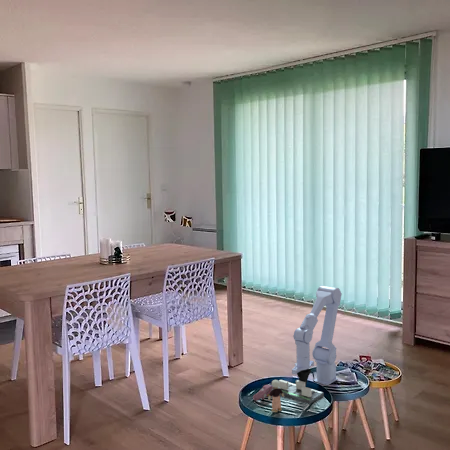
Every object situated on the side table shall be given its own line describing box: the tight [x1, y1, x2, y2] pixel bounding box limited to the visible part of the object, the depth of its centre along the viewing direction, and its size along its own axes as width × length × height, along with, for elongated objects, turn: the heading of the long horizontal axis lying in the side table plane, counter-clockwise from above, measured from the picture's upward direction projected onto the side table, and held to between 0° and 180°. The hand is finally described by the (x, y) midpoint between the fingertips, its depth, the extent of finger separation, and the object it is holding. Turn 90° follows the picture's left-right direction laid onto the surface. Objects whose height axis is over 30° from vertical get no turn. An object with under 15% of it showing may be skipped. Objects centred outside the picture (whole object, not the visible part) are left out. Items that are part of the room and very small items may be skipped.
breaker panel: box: [278, 381, 325, 405], centre depth 223 cm, size 11×19×2 cm, turn 48°
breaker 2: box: [302, 386, 313, 397], centre depth 217 cm, size 2×4×3 cm, turn 48°
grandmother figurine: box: [267, 379, 285, 413], centre depth 207 cm, size 8×4×13 cm, turn 131°
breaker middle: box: [295, 379, 306, 390], centre depth 224 cm, size 2×4×3 cm, turn 48°
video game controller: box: [252, 383, 274, 401], centre depth 220 cm, size 10×5×7 cm, turn 144°
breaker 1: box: [278, 379, 289, 390], centre depth 225 cm, size 2×4×3 cm, turn 48°
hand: (303, 385), depth 225 cm, fingers closed
